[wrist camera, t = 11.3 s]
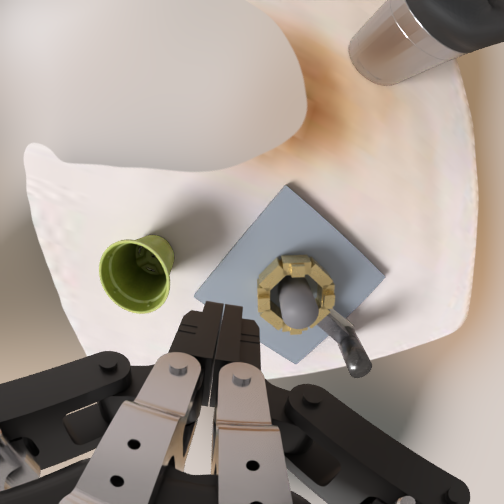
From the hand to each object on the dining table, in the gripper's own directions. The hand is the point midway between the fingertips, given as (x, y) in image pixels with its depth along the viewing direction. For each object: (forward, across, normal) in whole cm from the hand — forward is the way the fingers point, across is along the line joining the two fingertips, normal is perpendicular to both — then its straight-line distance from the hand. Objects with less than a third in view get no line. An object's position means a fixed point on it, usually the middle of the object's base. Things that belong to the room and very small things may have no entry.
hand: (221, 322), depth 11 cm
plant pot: (+27, +12, +8) cm, 31 cm away
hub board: (+27, -9, +10) cm, 30 cm away
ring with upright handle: (+26, -12, +12) cm, 31 cm away
